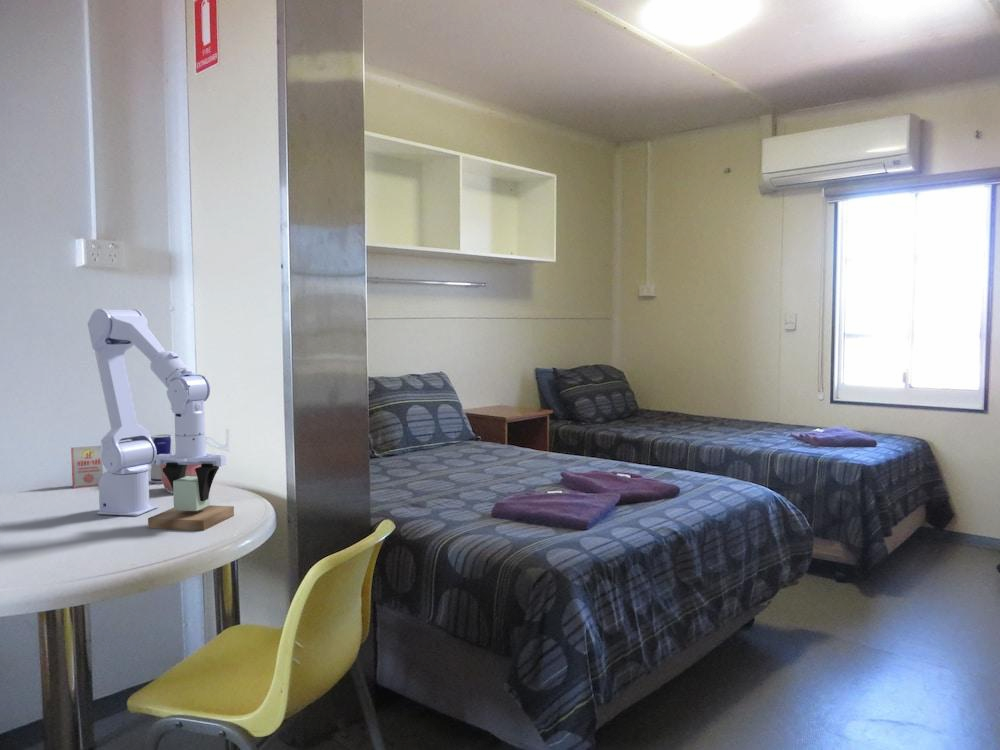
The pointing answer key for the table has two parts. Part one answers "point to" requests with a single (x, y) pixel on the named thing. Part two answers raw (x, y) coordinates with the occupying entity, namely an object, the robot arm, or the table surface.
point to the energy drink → (162, 447)
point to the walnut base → (191, 518)
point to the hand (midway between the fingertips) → (191, 499)
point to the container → (189, 472)
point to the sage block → (188, 494)
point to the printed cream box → (86, 466)
